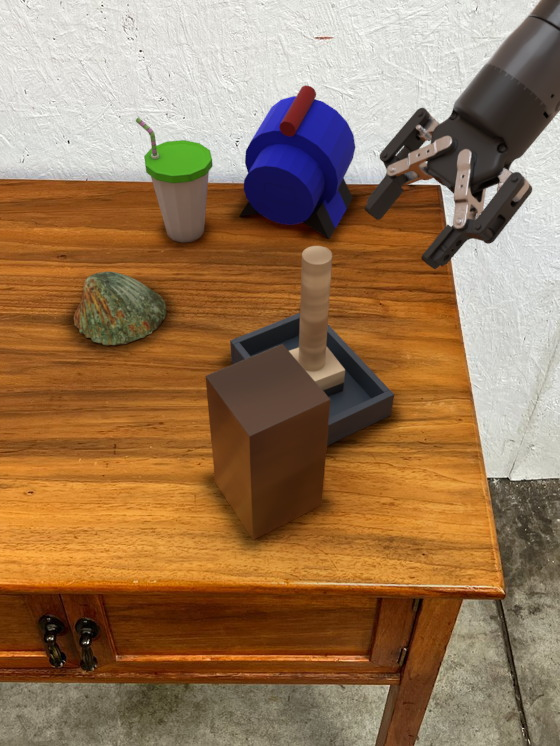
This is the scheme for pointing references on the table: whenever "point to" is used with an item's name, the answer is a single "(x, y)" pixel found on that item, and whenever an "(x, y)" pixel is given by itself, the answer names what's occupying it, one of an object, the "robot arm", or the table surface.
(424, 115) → the robot arm
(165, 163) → the cup
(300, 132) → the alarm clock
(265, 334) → the tray
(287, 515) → the stand
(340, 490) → the table surface
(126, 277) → the seashell
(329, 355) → the wooden peg on base
